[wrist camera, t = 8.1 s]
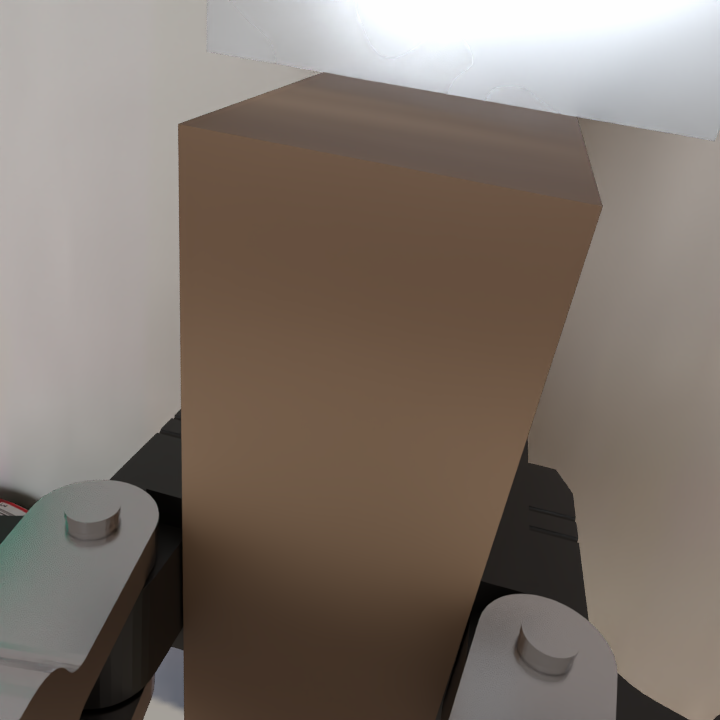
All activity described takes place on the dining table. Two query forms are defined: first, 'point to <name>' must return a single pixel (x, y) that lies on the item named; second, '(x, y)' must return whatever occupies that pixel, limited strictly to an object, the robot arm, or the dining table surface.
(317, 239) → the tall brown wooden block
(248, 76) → the dining table surface
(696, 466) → the dining table surface
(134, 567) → the robot arm
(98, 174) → the dining table surface
